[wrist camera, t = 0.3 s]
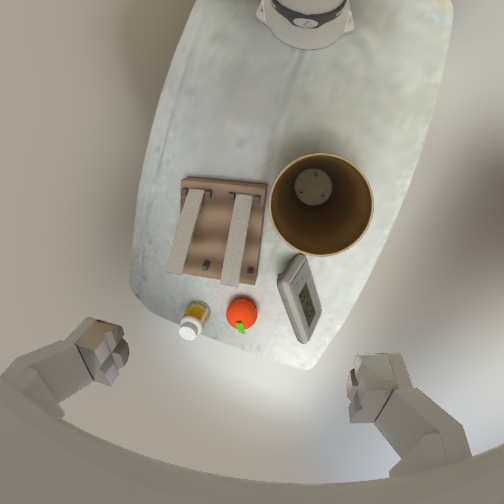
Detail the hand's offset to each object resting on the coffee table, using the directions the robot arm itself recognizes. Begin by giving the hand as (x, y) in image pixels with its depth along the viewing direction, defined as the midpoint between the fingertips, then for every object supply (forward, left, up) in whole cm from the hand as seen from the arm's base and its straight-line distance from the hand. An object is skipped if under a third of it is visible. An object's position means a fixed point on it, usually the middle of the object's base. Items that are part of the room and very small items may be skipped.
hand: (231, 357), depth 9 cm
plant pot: (+2, +6, -47) cm, 47 cm away
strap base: (+13, -11, -47) cm, 50 cm away
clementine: (+32, -5, -47) cm, 57 cm away
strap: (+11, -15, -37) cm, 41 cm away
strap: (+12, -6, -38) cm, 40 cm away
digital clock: (+24, +7, -47) cm, 53 cm away
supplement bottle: (+35, -16, -47) cm, 61 cm away
